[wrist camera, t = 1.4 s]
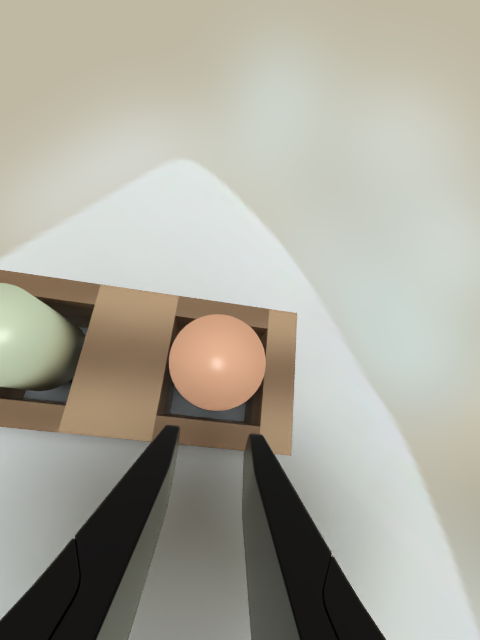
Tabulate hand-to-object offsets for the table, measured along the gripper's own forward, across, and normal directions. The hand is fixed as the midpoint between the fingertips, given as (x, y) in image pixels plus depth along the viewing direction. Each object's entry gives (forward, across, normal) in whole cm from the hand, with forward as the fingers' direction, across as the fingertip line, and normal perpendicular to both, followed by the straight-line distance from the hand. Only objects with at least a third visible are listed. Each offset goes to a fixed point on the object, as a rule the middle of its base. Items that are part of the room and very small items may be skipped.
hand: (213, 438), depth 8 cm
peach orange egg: (+8, 0, +4) cm, 9 cm away
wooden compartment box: (+11, +5, +7) cm, 14 cm away
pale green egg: (+8, +10, +4) cm, 13 cm away
